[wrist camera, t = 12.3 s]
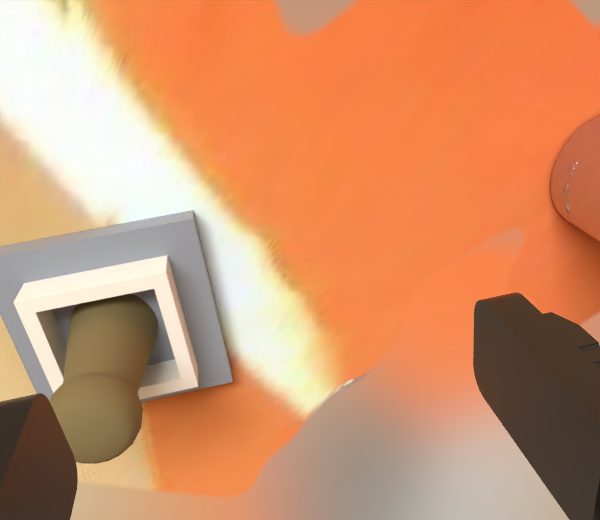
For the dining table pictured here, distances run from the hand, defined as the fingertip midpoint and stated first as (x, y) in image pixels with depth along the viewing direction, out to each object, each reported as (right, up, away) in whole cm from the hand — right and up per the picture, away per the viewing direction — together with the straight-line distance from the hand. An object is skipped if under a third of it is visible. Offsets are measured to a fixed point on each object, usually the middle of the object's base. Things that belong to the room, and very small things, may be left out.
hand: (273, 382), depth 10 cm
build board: (-13, -2, +30) cm, 33 cm away
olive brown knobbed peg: (-13, -2, +29) cm, 32 cm away
